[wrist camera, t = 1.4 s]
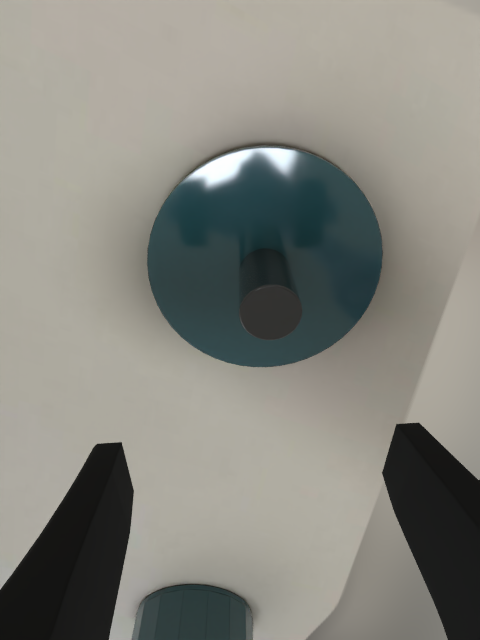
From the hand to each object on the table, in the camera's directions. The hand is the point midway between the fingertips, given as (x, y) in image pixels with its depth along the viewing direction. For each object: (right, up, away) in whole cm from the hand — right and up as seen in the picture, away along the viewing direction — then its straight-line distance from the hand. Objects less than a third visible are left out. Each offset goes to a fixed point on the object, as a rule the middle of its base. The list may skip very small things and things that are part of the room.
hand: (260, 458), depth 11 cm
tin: (-5, -22, +25) cm, 34 cm away
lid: (+1, +6, +8) cm, 10 cm away
